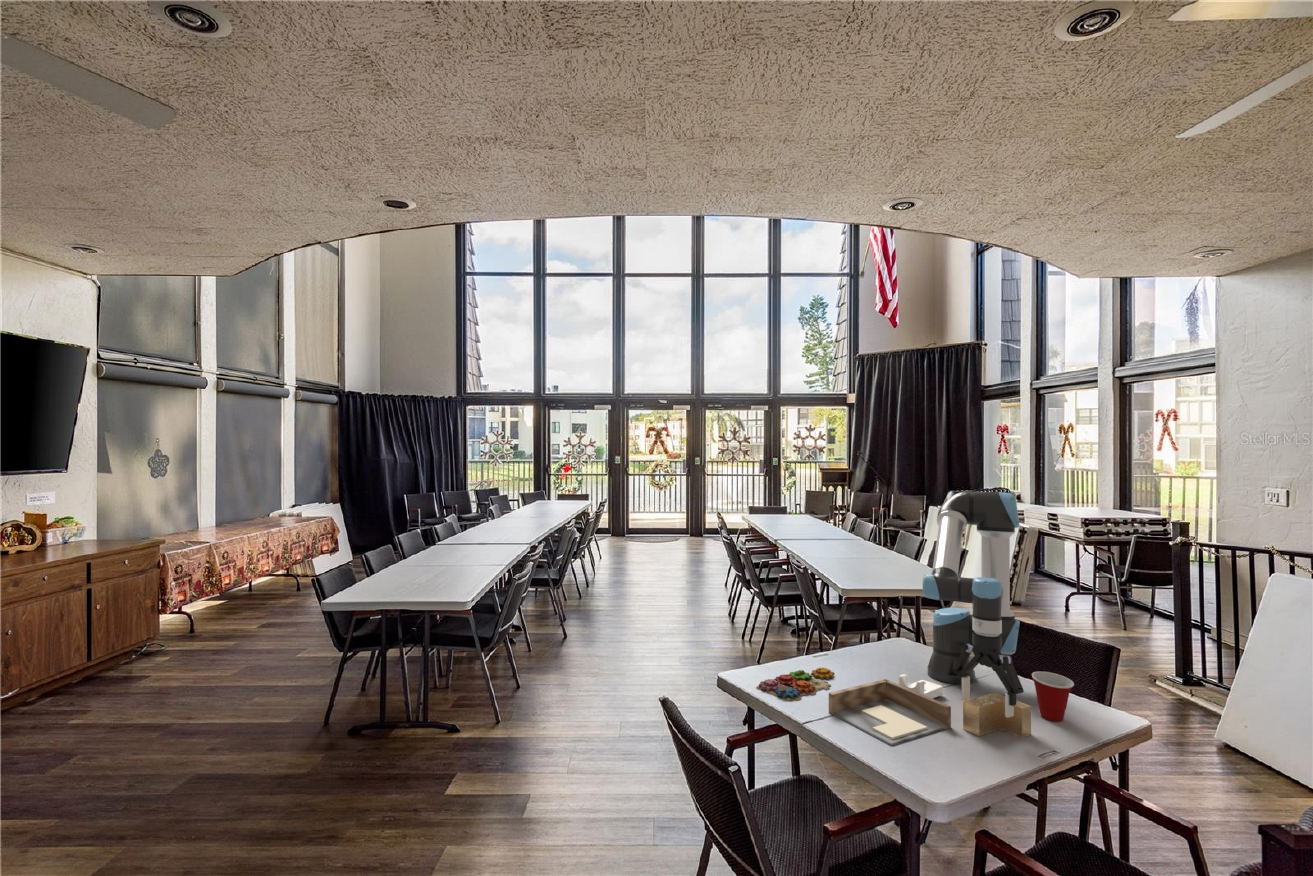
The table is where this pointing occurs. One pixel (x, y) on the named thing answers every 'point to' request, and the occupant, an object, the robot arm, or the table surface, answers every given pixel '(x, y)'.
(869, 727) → the arena
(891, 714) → the pad
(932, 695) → the bracket
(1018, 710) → the wooden l-shaped block
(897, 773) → the table surface
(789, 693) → the gear puzzle
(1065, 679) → the plastic cup
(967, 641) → the robot arm
